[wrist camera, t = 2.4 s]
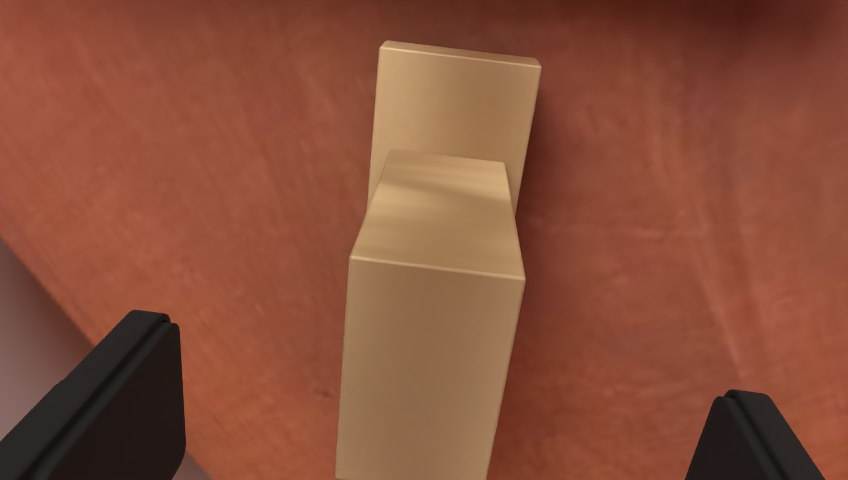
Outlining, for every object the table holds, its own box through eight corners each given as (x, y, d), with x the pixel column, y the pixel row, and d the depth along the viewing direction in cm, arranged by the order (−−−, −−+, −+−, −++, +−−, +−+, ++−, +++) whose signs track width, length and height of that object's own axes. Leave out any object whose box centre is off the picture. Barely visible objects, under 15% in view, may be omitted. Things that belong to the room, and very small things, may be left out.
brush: (365, 336, 22) (304, 564, 14) (390, 34, 18) (325, 103, 10) (480, 350, 22) (489, 588, 14) (532, 51, 18) (588, 136, 10)
